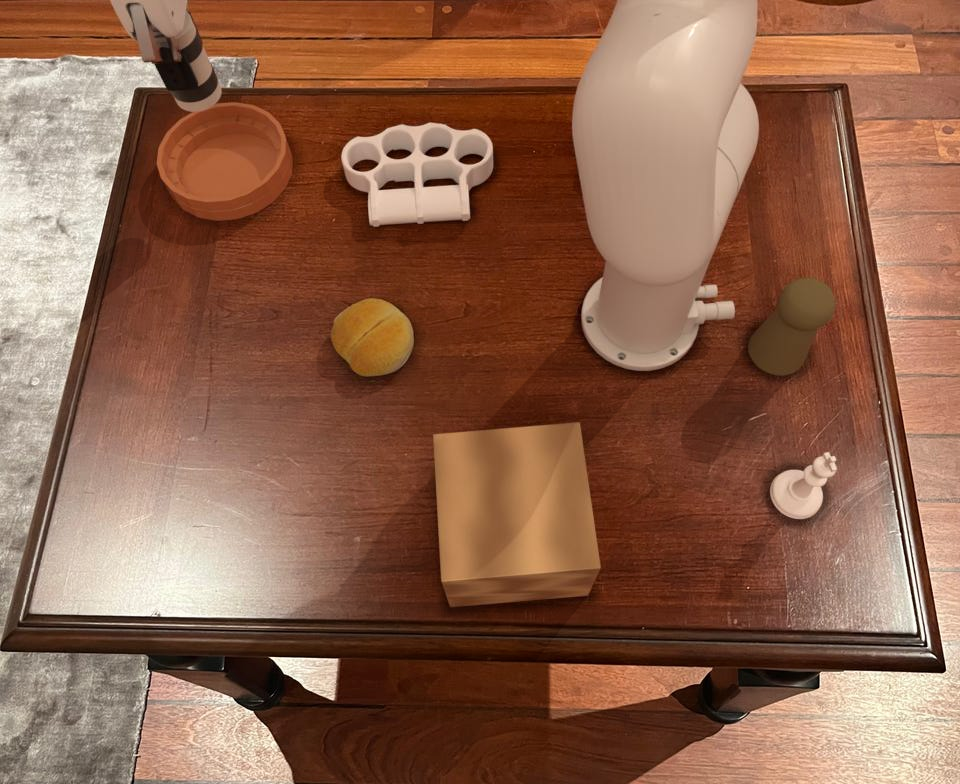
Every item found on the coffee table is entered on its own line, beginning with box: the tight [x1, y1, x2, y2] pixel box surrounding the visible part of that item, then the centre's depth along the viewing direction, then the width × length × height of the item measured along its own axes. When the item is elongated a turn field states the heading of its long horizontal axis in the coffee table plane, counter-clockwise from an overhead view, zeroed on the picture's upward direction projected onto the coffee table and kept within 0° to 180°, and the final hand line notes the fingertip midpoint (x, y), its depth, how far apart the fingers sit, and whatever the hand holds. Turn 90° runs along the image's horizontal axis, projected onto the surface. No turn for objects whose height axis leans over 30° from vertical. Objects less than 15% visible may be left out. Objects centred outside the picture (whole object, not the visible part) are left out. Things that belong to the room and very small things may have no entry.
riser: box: [432, 421, 602, 608], centre depth 72 cm, size 13×13×11 cm
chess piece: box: [769, 451, 838, 520], centre depth 74 cm, size 5×5×10 cm
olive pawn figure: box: [747, 277, 837, 376], centre depth 80 cm, size 6×6×11 cm
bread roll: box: [330, 297, 415, 378], centre depth 85 cm, size 8×9×4 cm
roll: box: [152, 10, 223, 113], centre depth 82 cm, size 5×5×9 cm
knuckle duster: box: [340, 122, 494, 228], centre depth 95 cm, size 3×18×15 cm
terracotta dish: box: [156, 101, 294, 222], centre depth 96 cm, size 15×15×4 cm
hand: (185, 66), depth 83 cm, fingers closed on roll, 5 cm apart
